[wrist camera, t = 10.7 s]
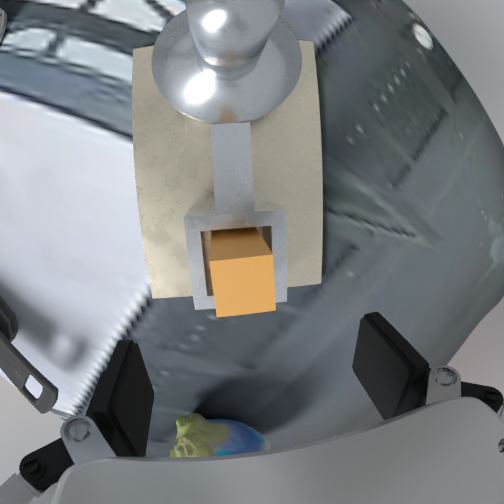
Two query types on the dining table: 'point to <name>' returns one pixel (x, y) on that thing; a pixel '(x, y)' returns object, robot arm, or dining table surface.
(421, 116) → the dining table surface
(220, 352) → the dining table surface
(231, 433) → the relief earth globe
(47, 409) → the zipper pull
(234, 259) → the orange rectangular block
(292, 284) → the door knob latch
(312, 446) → the robot arm
